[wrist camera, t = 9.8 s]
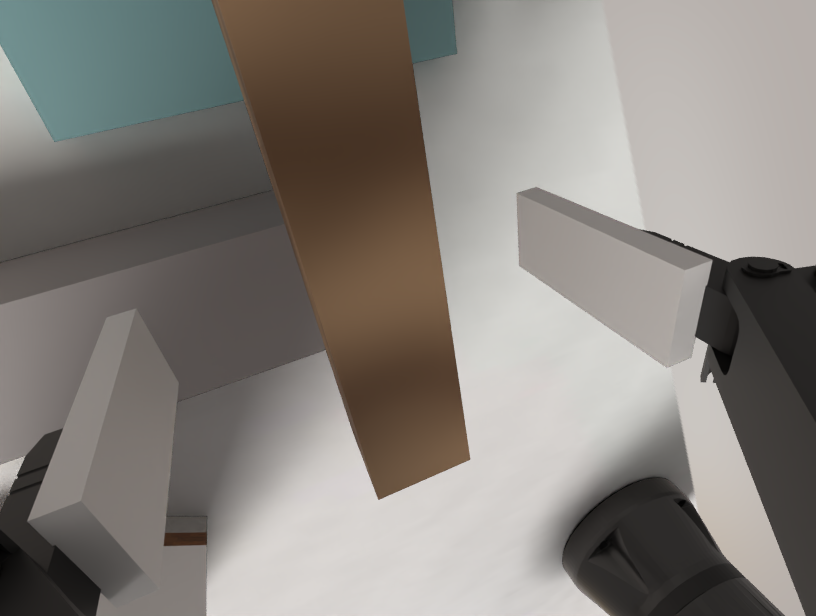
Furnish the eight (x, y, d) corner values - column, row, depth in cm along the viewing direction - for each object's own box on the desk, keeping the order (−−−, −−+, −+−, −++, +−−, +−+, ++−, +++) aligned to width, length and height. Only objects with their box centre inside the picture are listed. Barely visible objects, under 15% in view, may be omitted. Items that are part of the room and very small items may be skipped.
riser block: (348, 286, 25) (375, 332, 21) (22, 392, 21) (-23, 472, 17) (319, 177, 22) (344, 207, 18) (-71, 281, 18) (-151, 347, 14)
